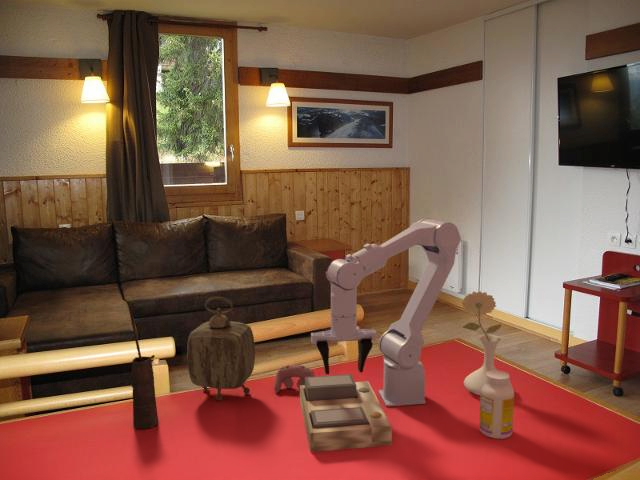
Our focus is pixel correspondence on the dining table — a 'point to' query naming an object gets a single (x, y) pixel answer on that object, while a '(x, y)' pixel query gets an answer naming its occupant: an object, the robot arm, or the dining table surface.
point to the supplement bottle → (496, 405)
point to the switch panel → (348, 436)
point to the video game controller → (292, 371)
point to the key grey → (330, 387)
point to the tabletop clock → (221, 352)
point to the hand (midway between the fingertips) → (343, 371)
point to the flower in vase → (481, 338)
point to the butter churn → (143, 388)
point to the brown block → (338, 417)
